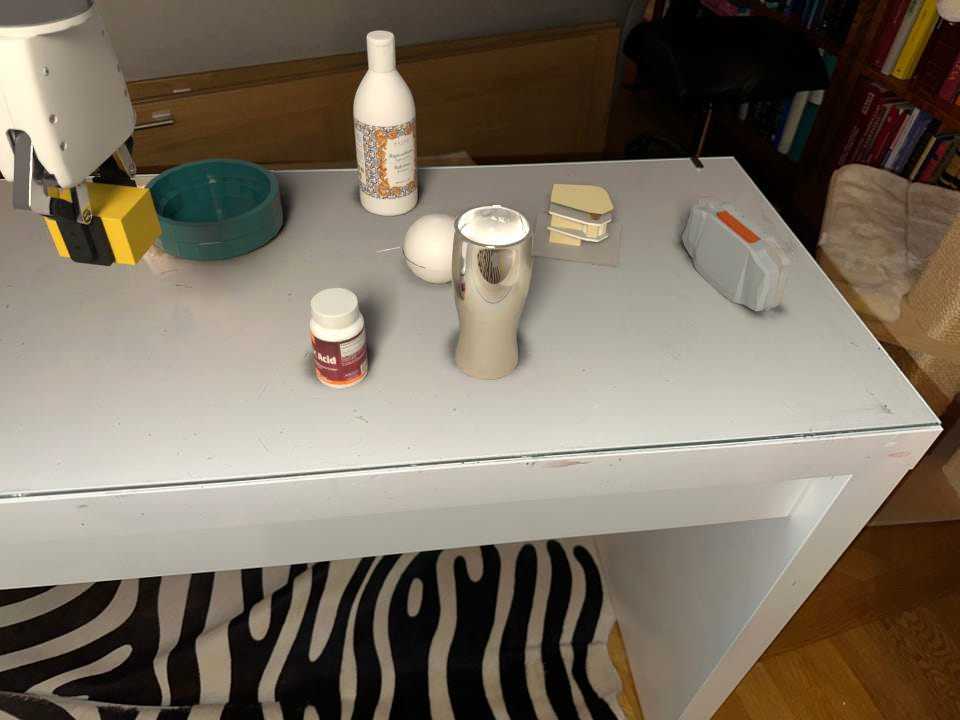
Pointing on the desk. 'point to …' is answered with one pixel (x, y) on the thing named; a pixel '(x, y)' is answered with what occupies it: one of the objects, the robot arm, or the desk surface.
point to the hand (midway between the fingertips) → (110, 240)
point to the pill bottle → (338, 338)
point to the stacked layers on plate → (578, 226)
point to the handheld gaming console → (736, 255)
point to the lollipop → (430, 247)
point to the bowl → (215, 208)
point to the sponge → (118, 220)
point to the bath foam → (385, 132)
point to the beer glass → (490, 286)
